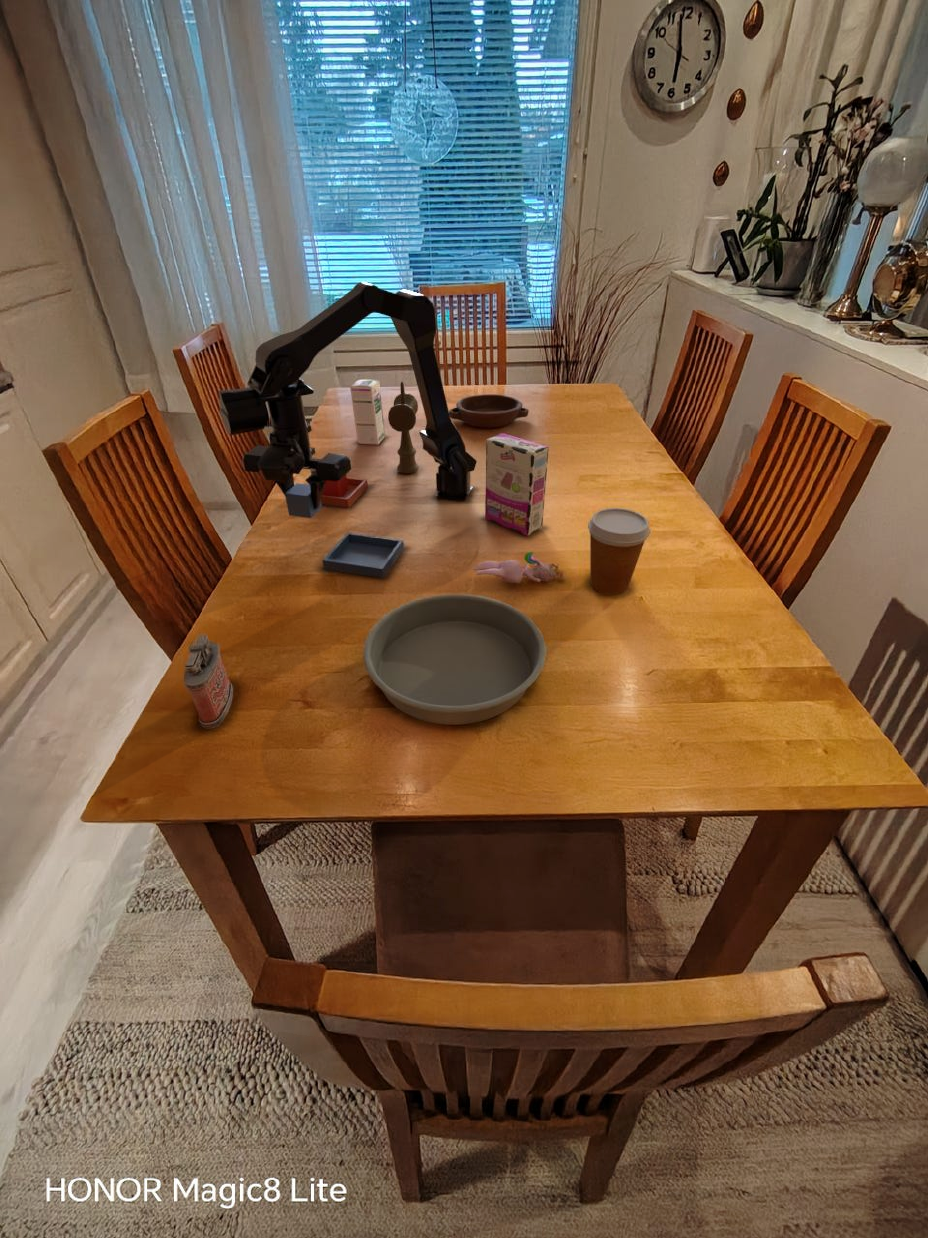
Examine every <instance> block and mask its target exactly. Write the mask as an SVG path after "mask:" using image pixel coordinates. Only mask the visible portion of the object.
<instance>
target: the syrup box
mask: <svg viewBox="0 0 928 1238" xmlns="http://www.w3.org/2000/svg"><path fill="white" fill-rule="evenodd" d="M349 388H350V394H351V403H352V404H351V405H352V410H353V418H354V424H355V432H356V439H357V443H358V444H363V445H374V446H375V445H377V446H379V445H380V443H381V442H382V441H383V440H384V438H385V437H386V431H385V422H384V421H385V420H384V412H383V411H384V410H383V403H382V395H381V385H380V380H377V379H358V380H357V381H355V382H354V383H353V384H351V385H350V387H349Z"/></svg>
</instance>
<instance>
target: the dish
mask: <svg viewBox="0 0 928 1238" xmlns="http://www.w3.org/2000/svg"><path fill="white" fill-rule="evenodd" d="M455 406H456V407H453V408H451V409H448V410H449V415H450V418H451V420H452V419H453V420H458V421H462V422H463V423H465V424H467V425H469V426H471V427H476V428H484V429H485V428H486V429H487V428H489V429H490V428H492V429H493V428H499V427H504V426H507V425H509V424H511V423H513V422H514V421H515V420H518V419H521V418H527V417H528V416H529V412H530V411H529V409H528V408H527V407H523V406H524V404H523V402H522V401H521V400H519V399H517V398H515V397H512V396H509V395H504V394H496V393H494V394H491V393H489V394H487V393H486V394H485V393H484V394H474V395H469V396H465V397H463V398H461V399H459V400H458V401H457V402H456V403H455Z"/></svg>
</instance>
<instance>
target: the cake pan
mask: <svg viewBox="0 0 928 1238" xmlns="http://www.w3.org/2000/svg"><path fill="white" fill-rule="evenodd" d="M362 653H363V654H362V659H363V663H364V667H365V670H366V671H367V674H368V676H369V677H370V678H371V680H372V681H373V682H374V684H375V685H376V686H377V687H378V688H379V689H380V690H381V691H382V692H383V694H384V696H385V698H386V699H387V700H388V701H389V702H390V704H392V705H393V706H394V707H395V708H397V709H398V710H399V711H401V712H402V713H404V714H405V715H408V716H410V717H412V718H415V719H417V720H420V721H424V722H428V723H430V724H431V723H432V724H437V725H447V726H450V725H451V726H458V725H468V724H474V723H479V722H482V721H483V722H484V721H486V720H490V719H492V718H494V717H497V716H499V715H501V714H503V713H505V712H506V711H508V710H509V709H510V708H512V707H513V706H515V704H517V703H518V702H519V701H520V699H522V697H523V696H524V694H525V693H526V691H527V689H529V688H530V686H532V685H533V684H534V682H535V681H536V680H537V679H538V677H539V676H540V674H541V672H542V671H543V669H544V665H545V663H546V658H547V646H546V643H545V639H544V636H543V634H542V632H541V630H540V628H539V627H538V626H537V624H536V623H535V622H534V621H533V620H532V619H531V618H530V617H529V616H528V615H526V614H524V613H523V612H522V611H520V610H519V609H517V608H515V607H514V606H512V605H510V604H508V603H506V602H503V601H501V600H498V599H494V598H492V597H491V598H490V597H486V596H481V595H475V594H468V593H467V594H465V593H448V594H447V593H446V594H436V595H430V596H425V597H421V598H417V599H413V600H412V601H411V600H410V601H409V602H407V603H404V604H401V605H400V606H398V607H396V608H394V609H392V610H391V611H389V612H388V613H386V614H385V615H384V616H383V617H381V618H380V619H379V620H378V621H377V622H376V623H375V625H373V626H372V628H371V630H370V631H369V632H368V635H367V636H366V638H365V641H364V645H363V651H362Z"/></svg>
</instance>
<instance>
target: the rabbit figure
mask: <svg viewBox="0 0 928 1238" xmlns="http://www.w3.org/2000/svg"><path fill="white" fill-rule="evenodd" d="M534 554H535V552H534V551H527V552H526V553H525V554H524V557H523V558H524V560H525V562H526V564H524V566H522V564H521V563H520V562H519V561H517V560H515V559H505V560H503V561H502V560H501V561H495V560H485V561H482V562H480V563H478V564H477V565H476V566H474V568H473V571H478V572H475V575H476V576H481V575H491V576H495V577H499V578H500V579H502V581H504V582H506V583H510V584H511V583H512V584H516V585H518V584H520V583H522V580H523V577H526V578H527V579H531V580H532V581H535V582H537V583H540V582H541V581H542V582H545V583H549V582H552V581H553V580H554V578H555V577H556V576H557V575H559V581H562V580H563V576H564V574H563V573H564V571H561V572H560V571H559V565H560V563H558V564H557V565H556V564H555V563H554V562H553V563H551V564H547V563H546V562H541V561H540V559H538V558H537V557H534V556H533V555H534ZM531 565H534V567H529V566H531ZM553 568H555V569H554V571H553V570H552V569H553Z"/></svg>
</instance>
